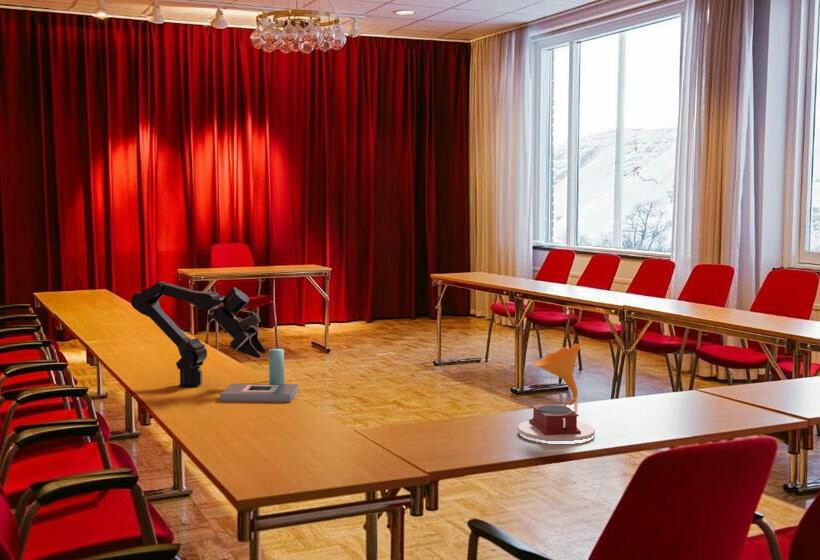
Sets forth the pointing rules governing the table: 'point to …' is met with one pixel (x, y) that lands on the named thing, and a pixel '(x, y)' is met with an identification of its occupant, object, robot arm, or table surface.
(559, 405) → the gramophone
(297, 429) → the table surface
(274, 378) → the teal peg
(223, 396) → the flange plate
